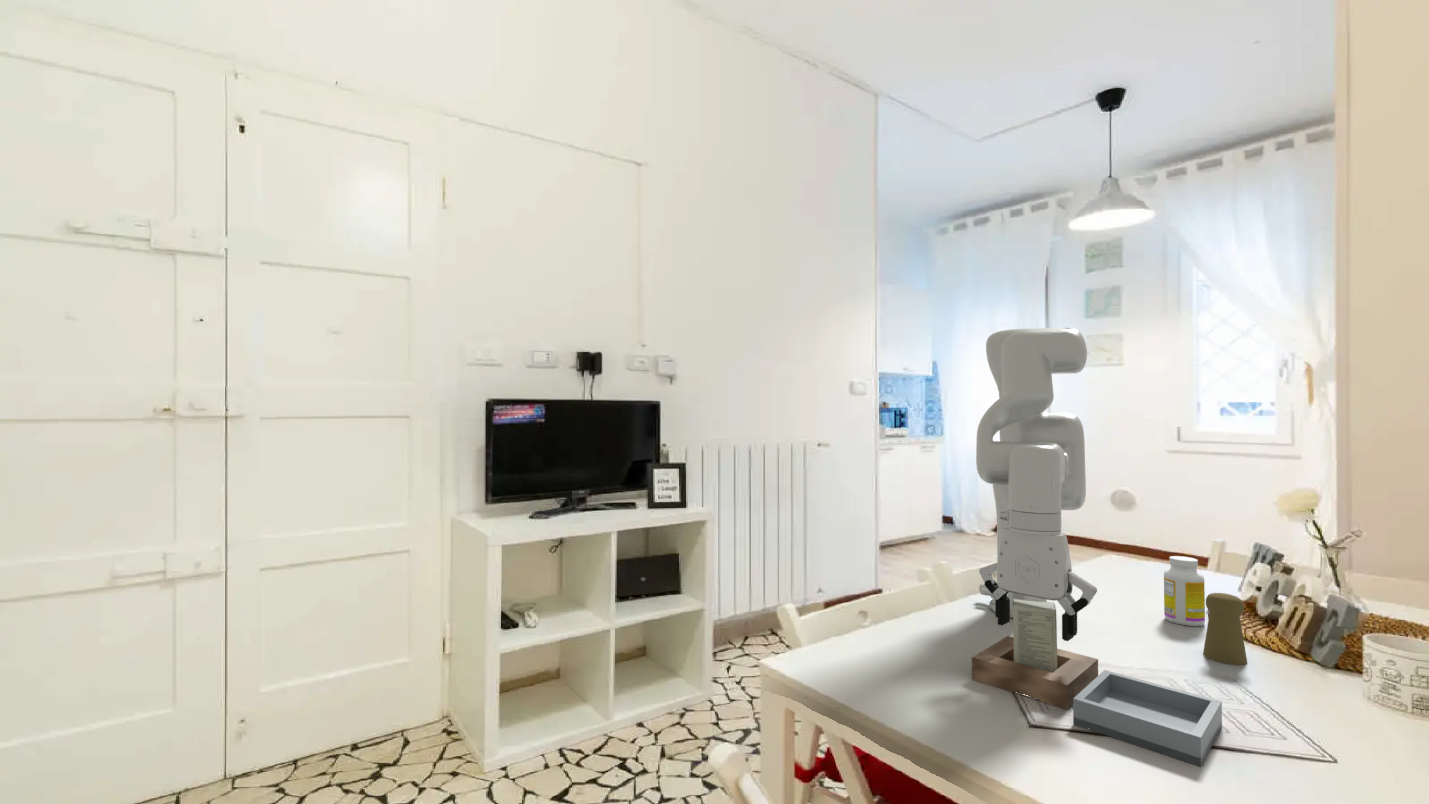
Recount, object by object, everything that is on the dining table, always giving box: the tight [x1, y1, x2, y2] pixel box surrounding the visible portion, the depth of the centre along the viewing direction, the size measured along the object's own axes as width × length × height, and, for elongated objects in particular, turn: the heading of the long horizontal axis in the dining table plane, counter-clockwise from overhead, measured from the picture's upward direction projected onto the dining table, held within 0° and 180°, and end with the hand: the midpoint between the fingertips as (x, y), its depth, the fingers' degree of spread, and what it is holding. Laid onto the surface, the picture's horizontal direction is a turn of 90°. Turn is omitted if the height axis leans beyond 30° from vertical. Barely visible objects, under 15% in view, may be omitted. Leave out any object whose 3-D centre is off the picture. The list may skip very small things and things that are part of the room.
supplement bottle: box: [1163, 555, 1206, 627], centre depth 129 cm, size 7×7×13 cm
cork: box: [1202, 592, 1248, 666], centre depth 110 cm, size 6×6×11 cm
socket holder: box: [971, 635, 1099, 711], centre depth 100 cm, size 14×14×4 cm
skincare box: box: [1012, 599, 1058, 673], centre depth 100 cm, size 6×4×12 cm
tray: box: [1072, 669, 1223, 767], centre depth 86 cm, size 14×14×4 cm
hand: (1034, 630), depth 100 cm, fingers open, 9 cm apart
